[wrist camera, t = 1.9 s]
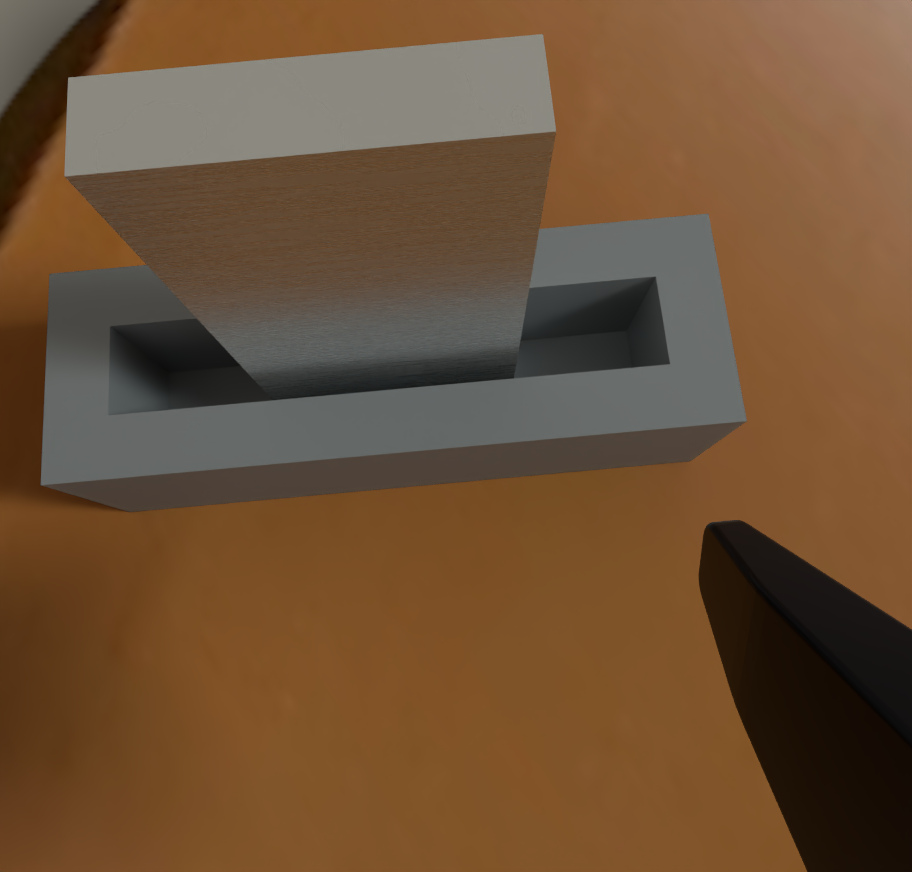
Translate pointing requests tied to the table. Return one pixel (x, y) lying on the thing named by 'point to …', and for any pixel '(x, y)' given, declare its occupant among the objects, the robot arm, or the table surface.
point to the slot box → (399, 410)
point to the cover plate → (333, 204)
